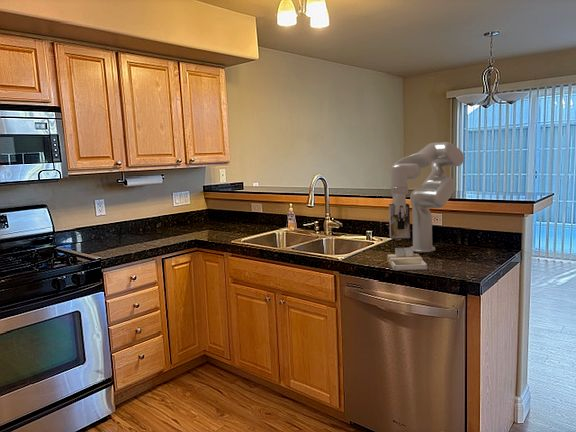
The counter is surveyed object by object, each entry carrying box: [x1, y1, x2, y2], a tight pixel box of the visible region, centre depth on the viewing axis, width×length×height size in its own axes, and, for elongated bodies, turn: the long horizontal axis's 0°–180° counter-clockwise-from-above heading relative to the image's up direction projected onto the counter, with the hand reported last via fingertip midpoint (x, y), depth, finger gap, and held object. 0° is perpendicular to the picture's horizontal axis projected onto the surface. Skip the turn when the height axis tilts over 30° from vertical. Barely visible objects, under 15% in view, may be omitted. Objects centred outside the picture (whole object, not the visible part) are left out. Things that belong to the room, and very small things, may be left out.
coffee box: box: [388, 203, 411, 239], centre depth 212 cm, size 9×6×16 cm
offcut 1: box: [394, 247, 404, 257], centre depth 205 cm, size 4×4×4 cm
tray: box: [390, 260, 428, 272], centre depth 195 cm, size 8×14×2 cm, turn 87°
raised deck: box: [387, 252, 424, 266], centre depth 204 cm, size 10×14×3 cm
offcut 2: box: [403, 246, 414, 257], centre depth 205 cm, size 4×4×4 cm
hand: (399, 227), depth 212 cm, fingers closed on coffee box, 6 cm apart
